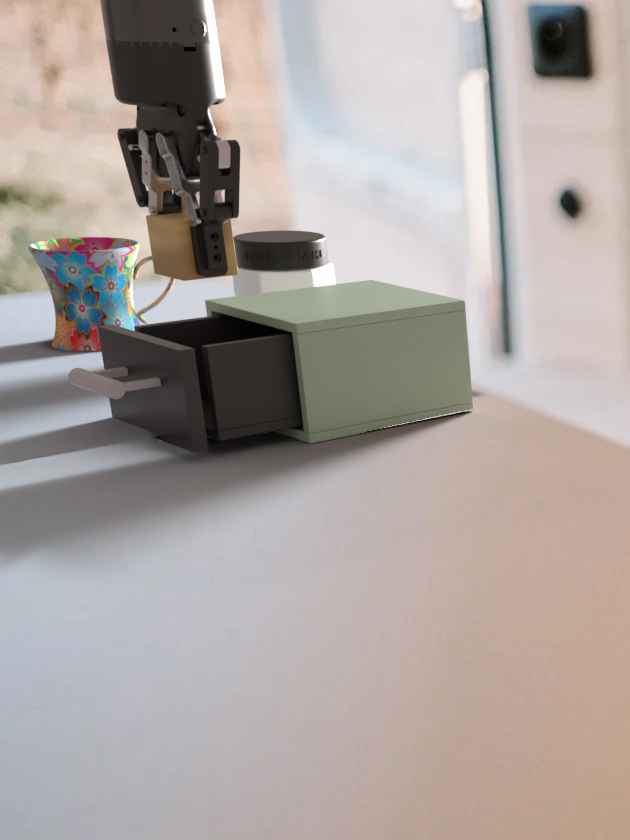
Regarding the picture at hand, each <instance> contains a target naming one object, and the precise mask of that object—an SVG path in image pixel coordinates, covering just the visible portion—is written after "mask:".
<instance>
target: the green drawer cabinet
mask: <svg viewBox="0 0 630 840" xmlns="http://www.w3.org/2000/svg"><path fill="white" fill-rule="evenodd" d="M204 304H205V309H206V310H205V311H206V317H209V316H216V315H224V314H225V315H229V316H233V317H237V318H240V319H244V320H248V321H252V322H255V323H259V324H263V325H267V326H270V327H274V328H278V329H282V330H285V331H289V332H293V333H292V335H293V343H294V351H295V360H296V368H297V377H298V385H299V394H300V402H301V410H302V419H303V425H302V426H297V427H292V428H286V429H281V430H276V431H273V432H275V433H278V434H280V435H284V436H286V437H290V438H293V439H296V440H298V441H301V442H304V443H308V444H316V443H321V442H326V441H330V440H335V439H341V438H345V437H350V436H356V435H360V433H361V434H365V432H366V433H368V432H367V431H371V432H373V431H372V430H376V429H381V428H384V427H388V426H392V425H396V424H397V425H398V424H402V423H406V422H412V421H416V420H422V419H425V418H429V417H433V416H434V417H435V416H439V415H444V414H449V413H453V412H458V411H465V410H470V409H473V410H474V402H473V401H474V398H473V387H472V386H473V385H472V372H471V360H470V348H469V346H470V345H469V335H468V324H467V323H468V321H467V310H466V301H465V300H464V299H459V298H455V297H450V296H446V295H441V294H437V293H432V292H428V291H424V290H419V289H414V288H410V287H405V286H401V285H396V284H391V283H388V282H382V281H379V280H374V279H368V280H359V281H353V282H342V283H336V284H334V285H326V286H317V287H309V288H301V289H293V290H284V291H276V292H268V293H259V294H251V295H243V296H235V295H234V296H227V297H219V298H210V299H205V300H204ZM381 430H382V429H381ZM376 431H377V430H376Z"/></svg>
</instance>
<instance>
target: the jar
mask: <svg viewBox="0 0 630 840" xmlns="http://www.w3.org/2000/svg"><path fill="white" fill-rule="evenodd" d="M233 239H234V246H235V254H236V262H237V269H238V275H232V276H231V277H232V278H231V279H232V287H233V293H234V297H235V296H243V295H251V294H259V293H268V292H276V291H284V290H293V289H301V288H309V287H317V286H326V285H334V284H337V282H336V275H335V274H336V273H335V266H334V265H335V264H334V263H333V262H329V255H328V254H329V253H328V245H327V238H326V236H325V235H324V234H323V233H320V232H315V231H305V230H263V231H251V232H244V233H239V234H236V235H233Z"/></svg>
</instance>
